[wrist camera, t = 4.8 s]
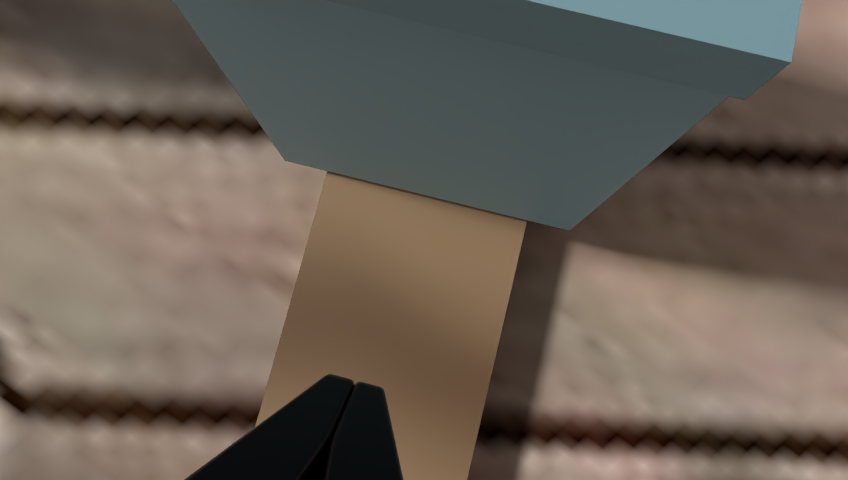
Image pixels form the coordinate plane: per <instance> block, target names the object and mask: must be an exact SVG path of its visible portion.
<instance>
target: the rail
mask: <svg viewBox="0 0 848 480" xmlns="http://www.w3.org/2000/svg"><path fill="white" fill-rule="evenodd" d="M526 224H527V220H524V219H520V218H516V217H512V216H508V215H504V214H500V213H495V212H491V211H487V210H483V209H479V208H475V207H471V206H467V205H463V204H459V203H455V202H451V201H447V200H443V199H439V198H435V197H431V196H426V195H422V194H418V193H414V192H410V191H406V190H402V189H398V188H394V187H390V186H386V185H382V184H378V183H374V182H370V181H366V180H362V179H358V178H353V177H349V176H345V175H341V174H337V173H333V172H329V171H327V175H326V178H325V182H324V186H323V189H322V193H321V196H320V200H319V203H318V207H317V210H316V214H315V217H314V221H313V224H312V228H311V232H310V235H309V239H308V242H307V246H306V249H305V253H304V256H303V260H302V263H301V267H300V270H299V274H298V277H297V281H296V285H295V288H294V292H293V295H292V299H291V302H290V306H289V309H288V313H287V316H286V320H285V323H284V327H283V330H282V334H281V338H280V341H279V345H278V348H277V352H276V355H275V359H274V362H273V366H272V369H271V373H270V376H269V380H268V383H267V387H266V391H265V394H264V398H263V401H262V405H261V408H260V412H259V415H258V419H257V422H256V426H258V425H259V424H260V423H262V422H263V421H264V420H266V419H267V418H268V417H270V416H271V415H273V414H274V413H275V412H277V411H278V410H279V409H281V408H282V407H283V406H285V405H286V404H287V403H289V402H290V401H291V400H293V399H294V398H295V397H297V396H298V395H299V394H301V393H302V392H304V391H305V390H306V389H308V388H309V387H310V386H312V385H313V384H314V383H316V382H317V381H318V380H320V379H321V378H322V377H324V376H325V375H327V374H333V375H337V376H341V377H345V378H349V379H352V380H353V381H354V384H356V383H357V382H364V383H368V384H372V385H376V386H380V387H382V388H383V389H384V392H385V395H386V400H387V405H388V410H389V414H390V419H391V424H392V428H393V433H394V438H395V442H396V447H397V452H398V456H399V461H400V466H401V471H402V475H403V480H467V478H468V474H469V469H470V465H471V461H472V456H473V452H474V448H475V444H476V439H477V435H478V431H479V426H480V422H481V418H482V413H483V409H484V405H485V400H486V396H487V392H488V387H489V383H490V379H491V375H492V370H493V366H494V362H495V357H496V353H497V349H498V344H499V340H500V336H501V331H502V327H503V323H504V318H505V314H506V310H507V306H508V301H509V297H510V293H511V288H512V284H513V280H514V275H515V271H516V267H517V262H518V258H519V254H520V249H521V245H522V241H523V236H524V232H525V228H526ZM256 426H255V427H256Z"/></svg>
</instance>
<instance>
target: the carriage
mask: <svg viewBox="0 0 848 480" xmlns="http://www.w3.org/2000/svg"><path fill="white" fill-rule="evenodd" d="M173 2H174V3H175V5H176V6H177V7H178V9H179V10H180V12H181V13H182V15H183V16H184V17H185V19H186V20H187V22H188V23H189V25H190V26H191V27H192V29H193V30H194V32H195V33H196V34H197V36H198V37H199V39H200V40H201V42H202V43H203V44H204V46H205V47H206V49H207V50H208V52H209V53H210V54H211V56H212V57H213V59H214V60H215V62H216V63H217V64H218V66H219V67H220V69H221V70H222V71H223V73H224V74H225V76H226V77H227V79H228V80H229V81H230V83H231V84H232V86H233V87H234V89H235V90H236V91H237V93H238V94H239V96H240V97H241V99H242V100H243V101H244V103H245V104H246V106H247V107H248V109H249V110H250V111H251V113H252V114H253V116H254V117H255V118H256V120H257V121H258V123H259V124H260V126H261V127H262V128H263V130H264V131H265V133H266V134H267V136H268V137H269V138H270V140H271V141H272V143H273V144H274V146H275V147H276V148H277V150H278V151H279V153H280V154H281V156H282V157H283V158H284V160H285V161H289V162H293V163H297V164H301V165H305V166H309V167H313V168H317V169H321V170H325V171H329V172H333V173H337V174H341V175H345V176H349V177H353V178H358V179H362V180H366V181H370V182H374V183H378V184H382V185H386V186H390V187H394V188H398V189H402V190H406V191H410V192H414V193H418V194H422V195H426V196H431V197H435V198H439V199H443V200H447V201H451V202H455V203H459V204H463V205H467V206H471V207H475V208H479V209H483V210H487V211H491V212H495V213H500V214H504V215H508V216H512V217H516V218H520V219H524V220H528V221H532V222H536V223H540V224H544V225H548V226H552V227H556V228H560V229H564V230H569V231H570V230H571V229H573V228H574V227H575V226H576V225H577V224H578V223H580V222H581V221H582V220H583V219H584V218H586V217H587V216H588V215H589V214H590V213H591V212H593V211H594V210H595V209H596V208H597V207H599V206H600V205H601V204H602V203H603V202H604V201H606V200H607V199H608V198H609V197H610V196H611V195H613V194H614V193H615V192H616V191H617V190H619V189H620V188H621V187H622V186H623V185H624V184H626V183H627V182H628V181H629V180H630V179H632V178H633V177H634V176H635V175H636V174H637V173H639V172H640V171H641V170H642V169H643V168H645V167H646V166H647V165H648V164H649V163H650V162H652V161H653V160H654V159H655V158H656V157H658V156H659V155H660V154H661V153H662V152H663V151H665V150H666V149H667V148H668V147H669V146H671V145H672V144H673V143H674V142H675V141H676V140H678V139H679V138H680V137H681V136H682V135H684V134H685V133H686V132H687V131H688V130H689V129H691V128H692V127H693V126H694V125H695V124H697V123H698V122H699V121H700V120H701V119H702V118H704V117H705V116H706V115H707V114H708V113H710V112H711V111H712V110H713V109H714V108H715V107H717V106H718V105H719V104H720V103H721V102H722V101H724V100H725V99H726V98H727V97H728V96H731V97H735V98H739V99H743V100H745V99H746V98H747V97H748V96H750V95H751V94H752V93H753V92H755V91H756V90H757V89H758V88H760V87H761V86H762V85H763V84H765V83H766V82H767V81H768V80H770V79H771V78H772V77H773V76H775V75H776V74H777V73H779V72H780V71H781V70H782V69H784V68H785V67H786V66H787V65H789V64H790V63H791V61H792V56H793V50H794V44H795V39H796V33H797V27H798V21H799V16H800V10H801V4H802V0H173Z"/></svg>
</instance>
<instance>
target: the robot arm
mask: <svg viewBox="0 0 848 480" xmlns="http://www.w3.org/2000/svg"><path fill="white" fill-rule="evenodd" d="M185 480H403V475H402V471H401V466H400V461H399V456H398V452H397V447H396V442H395V438H394V433H393V428H392V424H391V419H390V414H389V410H388V405H387V400H386V395H385V392H384V389H383V388H382V387H380V386H376V385H372V384H368V383H364V382H357V383H356V384H354V381H353V380H352V379H349V378H345V377H341V376H337V375H333V374H327V375H325V376H324V377H322V378H321V379H320V380H318V381H317V382H316V383H314V384H313V385H312V386H310V387H309V388H308V389H306V390H305V391H304V392H302V393H301V394H299V395H298V396H297V397H295V398H294V399H293V400H291V401H290V402H289V403H287V404H286V405H285V406H283V407H282V408H281V409H279V410H278V411H277V412H275V413H274V414H273V415H271V416H270V417H268V418H267V419H266V420H264V421H263V422H262V423H260V424H259V425H258V426H256V427H255V428H254V429H252V430H251V431H250V432H248V433H247V434H245V435H244V436H243V437H241V438H240V439H239V440H237V441H236V442H235V443H233V444H232V445H231V446H229V447H228V448H227V449H225V450H224V451H223V452H221V453H220V454H218V455H217V456H216V457H214V458H213V459H212V460H210V461H209V462H208V463H206V464H205V465H204V466H202V467H201V468H200V469H198V470H197V471H196V472H194V473H193V474H191V475H190V476H189V477H187V478H186V479H185Z"/></svg>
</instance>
